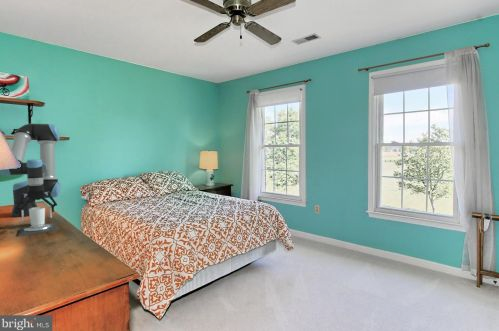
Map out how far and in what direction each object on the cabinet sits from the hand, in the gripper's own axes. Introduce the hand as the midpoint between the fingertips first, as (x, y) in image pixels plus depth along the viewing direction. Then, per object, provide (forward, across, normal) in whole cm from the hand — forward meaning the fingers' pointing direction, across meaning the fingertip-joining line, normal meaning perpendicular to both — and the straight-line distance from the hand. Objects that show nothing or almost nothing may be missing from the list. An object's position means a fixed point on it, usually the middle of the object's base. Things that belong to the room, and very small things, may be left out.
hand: (37, 219), depth 165 cm
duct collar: (+3, 0, -15) cm, 15 cm away
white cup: (+3, 0, 0) cm, 3 cm away
